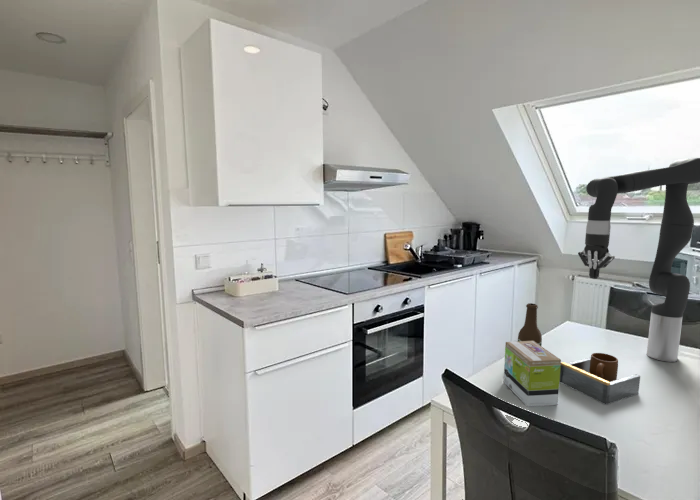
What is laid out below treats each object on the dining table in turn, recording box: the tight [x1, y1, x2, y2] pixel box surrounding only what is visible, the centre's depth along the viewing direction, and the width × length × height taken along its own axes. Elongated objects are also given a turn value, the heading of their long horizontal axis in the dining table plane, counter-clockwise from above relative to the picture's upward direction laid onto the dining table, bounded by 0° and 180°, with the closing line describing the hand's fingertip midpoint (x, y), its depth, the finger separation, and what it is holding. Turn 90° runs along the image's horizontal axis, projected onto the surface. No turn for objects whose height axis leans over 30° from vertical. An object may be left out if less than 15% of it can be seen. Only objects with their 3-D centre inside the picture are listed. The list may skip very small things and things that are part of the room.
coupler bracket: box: [559, 356, 641, 405], centre depth 123 cm, size 16×15×7 cm
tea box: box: [503, 340, 562, 407], centre depth 118 cm, size 15×10×15 cm
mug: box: [589, 352, 619, 382], centre depth 123 cm, size 12×8×9 cm, turn 137°
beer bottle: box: [517, 303, 543, 346], centre depth 135 cm, size 8×8×24 cm
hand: (593, 278), depth 143 cm, fingers closed
